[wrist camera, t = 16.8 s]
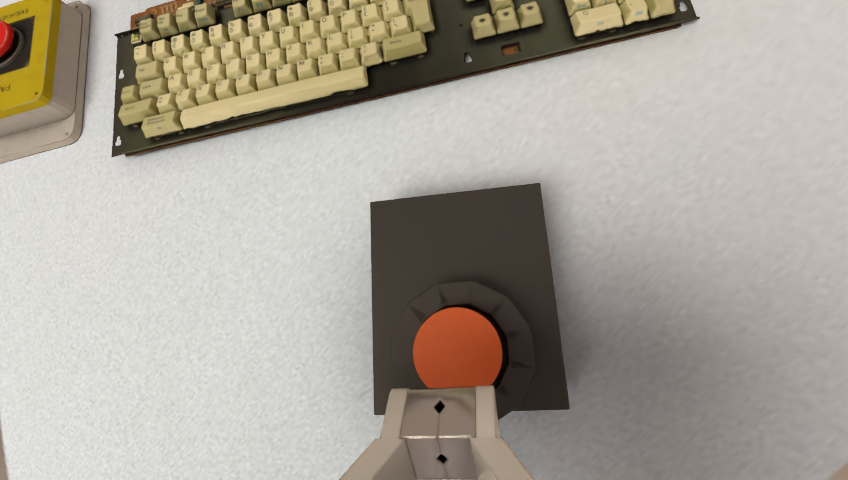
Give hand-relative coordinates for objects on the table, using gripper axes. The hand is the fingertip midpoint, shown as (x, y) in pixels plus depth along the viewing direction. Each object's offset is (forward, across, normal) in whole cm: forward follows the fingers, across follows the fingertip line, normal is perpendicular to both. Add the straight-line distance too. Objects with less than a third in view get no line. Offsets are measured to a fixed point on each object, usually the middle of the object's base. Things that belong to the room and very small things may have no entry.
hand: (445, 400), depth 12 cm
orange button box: (+13, 0, -7) cm, 15 cm away
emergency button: (+29, -38, +10) cm, 49 cm away
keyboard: (+29, -6, +9) cm, 31 cm away
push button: (+7, 0, -5) cm, 9 cm away
